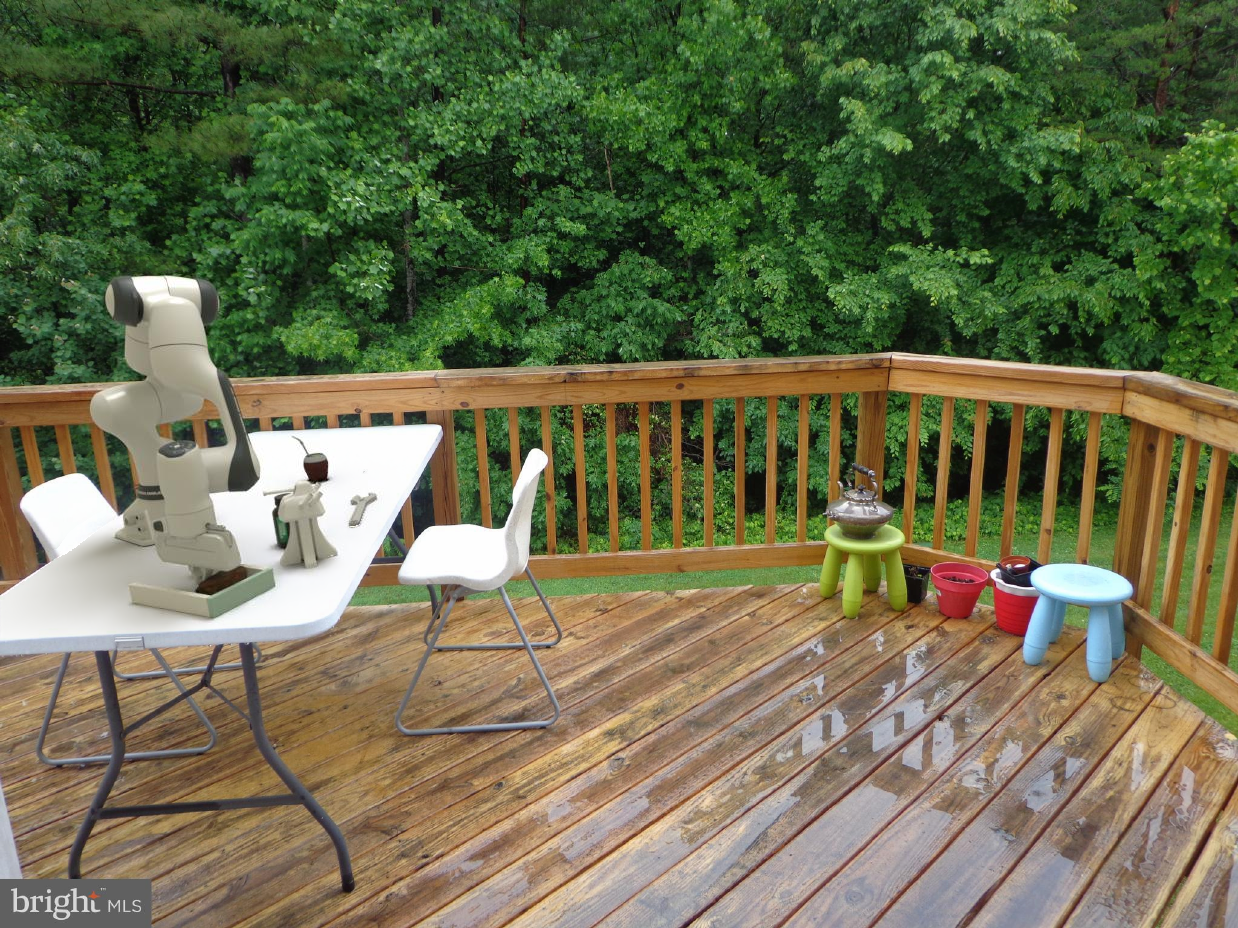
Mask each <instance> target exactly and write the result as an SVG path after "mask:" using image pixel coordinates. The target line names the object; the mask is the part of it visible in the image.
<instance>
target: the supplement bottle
mask: <svg viewBox="0 0 1238 928" xmlns="http://www.w3.org/2000/svg"><path fill="white" fill-rule="evenodd" d="M291 493H292V492H285V493H279V494H276V495H275V496H274V498H273V499H274V506H275V507H274V508H273V509H272V511H271V512H272V513H271V515H272V522H273V527H274V534H275V538H276V544H277V546H278V548H281V549H286V547H287V544H288V540H289V536H290V523H289V522H286V523H284V522H282V521H281V520H279V515H278V510H279V506H280V502H281V500H282V498H283V496H286V495H288V494H291Z"/></svg>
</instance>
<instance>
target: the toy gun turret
mask: <svg viewBox="0 0 1238 928" xmlns="http://www.w3.org/2000/svg"><path fill="white" fill-rule="evenodd" d="M321 487H322V484H321V483H320V482H317V483H316V484H311V481H308V480H305V481H298V482H297V483H295V485H294V486H293V487H289V488H281V489H276V490H269V491H268V490H267V491H264V490H263V491H262V493H263V496H264V497H266V496H269V495H279V494H284V493H291V494H288V495H286V496H283V498H282V500H281V502H280V506H279V510H278V515H279V520H281V521H282V522H284V523H286V522H289V523H290V536H289V540H288V544H287V547H286V548H284V551H283V554H282V555H281V557H280V566H282V567H283V566H287V565H294V564H298V563H304V566H305V569H311V568H316V567H317V566H318V565H317V560H319V559H318V558H320V559H323V557H326V558H329V557H328V556H331V555H336V556H338V555H339V554H338V551H337V548H336V547H335V546H334V545H333V544H332V543H331V542H330V541H329V540H328V539H327V538H326V536H325V535H324V533H323V532H322V530H321V528H320V526H319V522H318V518H319V517H323V516H324V514H325V513H326V509H325V507H324V504H323V503H322V501H321V498H322V497H323V494H324V493H322V492H321V491H319V490H320V488H321ZM337 554H338V555H337ZM331 557H332V556H331ZM316 559H317V560H316Z"/></svg>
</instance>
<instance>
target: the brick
mask: <svg viewBox="0 0 1238 928" xmlns="http://www.w3.org/2000/svg"><path fill="white" fill-rule="evenodd" d="M246 578H247V574H246V570H245V568H244V566H238V567H237V568H235V569H232V570H230V571H219V572H217V573H216V574H214V575H212V576H210V577H209V578H207V579H205V580H204V581H202V582H201V583H200V584H199V585H197V587H196V588H195V590H194V593H198V594H204V595H210V596H212V595H214V594H216V593H218V592H220V591H222V590H224V589H226V588H228V587H230V586H232V585H234V584H236V583H238V582H240V581H242V580H244V579H246Z"/></svg>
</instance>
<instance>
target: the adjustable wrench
mask: <svg viewBox="0 0 1238 928" xmlns="http://www.w3.org/2000/svg"><path fill="white" fill-rule="evenodd" d="M367 494H368V495H367V496H363V497H361V496H360V495H359V494H357V495H355V496H353V497H352V499H350V505H354V506H355V508H354V509H353V512H352V514H351V517H350V518H349V521H348V527H349V526H356V525H359V524H360V525H361V523H360V521H361V522H362V520H363V517H364V515H363V513H364V514H365V512H364V511H366V509H367V507H368V506H369V505H370V504H372V503H374V502H375V500H376V501H377V499H378V497H377V493H375V492H368V493H367ZM365 508H366V509H365ZM362 516H363V517H362ZM361 519H362V520H361ZM360 525H359V526H360Z"/></svg>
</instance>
